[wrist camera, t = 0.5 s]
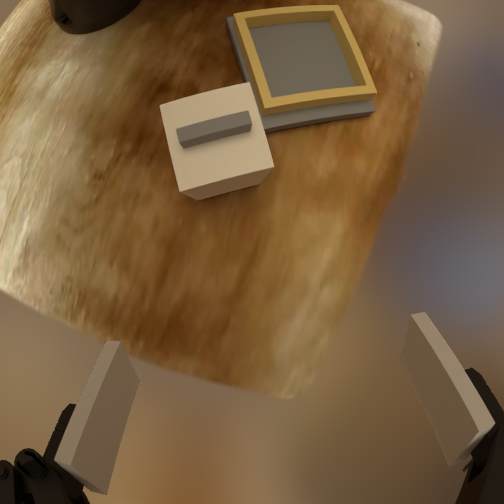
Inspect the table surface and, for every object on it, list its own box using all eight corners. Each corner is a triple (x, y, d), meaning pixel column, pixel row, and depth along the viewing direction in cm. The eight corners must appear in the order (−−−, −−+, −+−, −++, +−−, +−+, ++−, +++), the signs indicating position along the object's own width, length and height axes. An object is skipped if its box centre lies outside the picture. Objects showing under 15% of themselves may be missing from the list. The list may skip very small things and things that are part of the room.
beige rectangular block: (182, 141, 33) (153, 95, 19) (243, 125, 33) (251, 70, 19) (197, 200, 33) (174, 189, 20) (259, 184, 34) (278, 161, 20)
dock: (226, 25, 31) (226, 5, 27) (328, 14, 31) (337, -3, 27) (259, 134, 33) (263, 122, 28) (368, 115, 33) (385, 104, 29)
